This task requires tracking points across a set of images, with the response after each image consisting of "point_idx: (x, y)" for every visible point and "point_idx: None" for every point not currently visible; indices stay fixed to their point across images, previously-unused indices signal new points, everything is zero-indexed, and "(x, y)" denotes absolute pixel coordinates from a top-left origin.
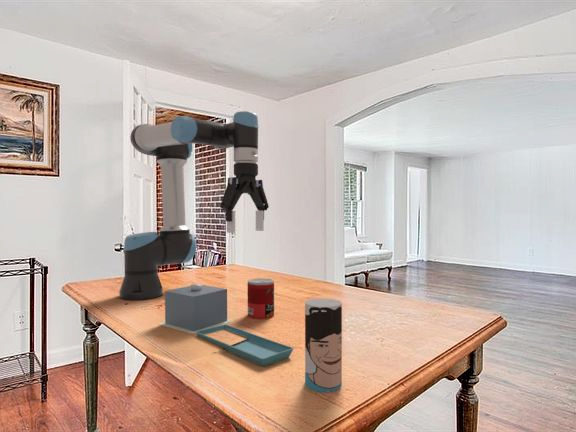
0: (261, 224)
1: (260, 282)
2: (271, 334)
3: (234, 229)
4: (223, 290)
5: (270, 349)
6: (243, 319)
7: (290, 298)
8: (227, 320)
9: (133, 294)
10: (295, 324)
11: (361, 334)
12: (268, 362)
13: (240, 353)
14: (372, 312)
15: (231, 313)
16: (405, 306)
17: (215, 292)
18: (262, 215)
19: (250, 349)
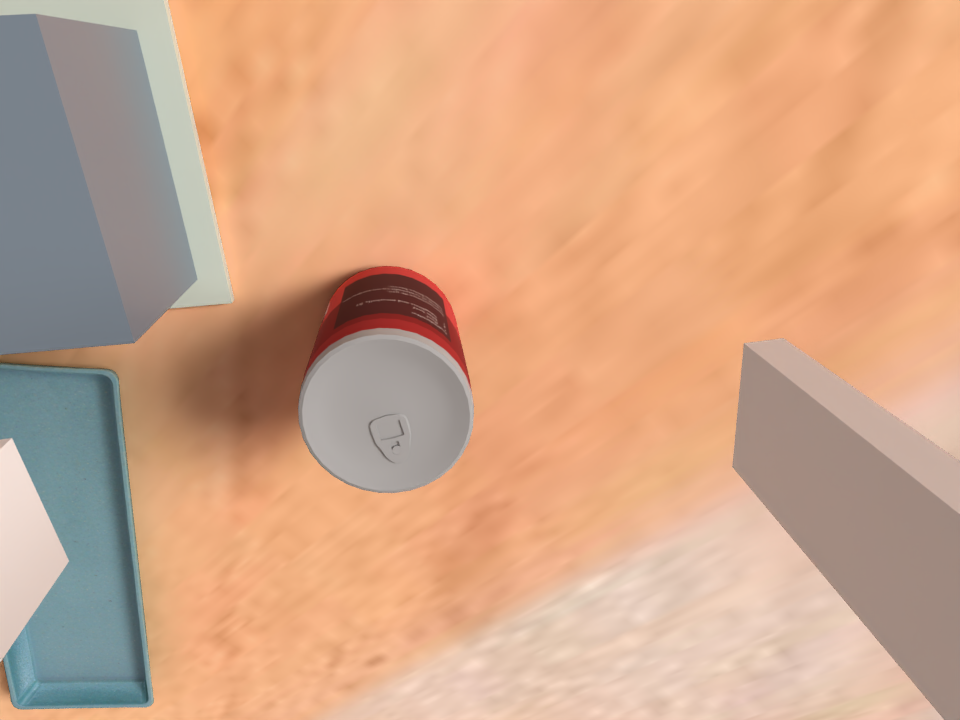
0: (791, 519)
1: (368, 429)
2: (251, 518)
3: (20, 605)
4: (100, 344)
5: (133, 620)
6: (303, 290)
7: (819, 166)
8: (201, 277)
9: None
10: (415, 499)
11: (473, 688)
12: (53, 686)
13: None
14: (745, 590)
15: (331, 148)
16: None
17: (25, 350)
18: (923, 678)
19: (80, 579)
